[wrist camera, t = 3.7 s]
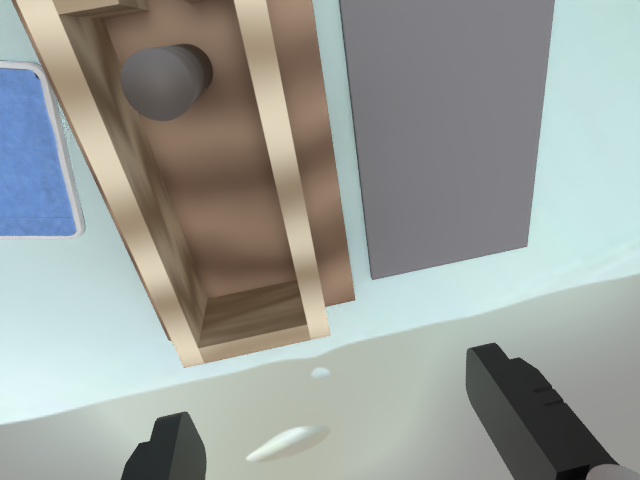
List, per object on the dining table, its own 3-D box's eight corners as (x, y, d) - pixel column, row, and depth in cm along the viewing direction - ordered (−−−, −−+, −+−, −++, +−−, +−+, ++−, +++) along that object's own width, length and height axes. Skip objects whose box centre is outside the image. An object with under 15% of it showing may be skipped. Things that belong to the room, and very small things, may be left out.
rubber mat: (321, -156, 22) (322, -159, 22) (572, -196, 23) (577, -200, 23) (371, 277, 37) (372, 280, 36) (524, 244, 37) (527, 246, 37)
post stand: (8, -35, 23) (-162, -82, 13) (296, -84, 24) (321, -159, 14) (172, 329, 36) (142, 430, 27) (351, 290, 37) (382, 376, 28)
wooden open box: (66, -6, 22) (7, -19, 17) (255, -39, 23) (254, -60, 18) (195, 316, 34) (184, 367, 29) (319, 289, 34) (330, 335, 29)
